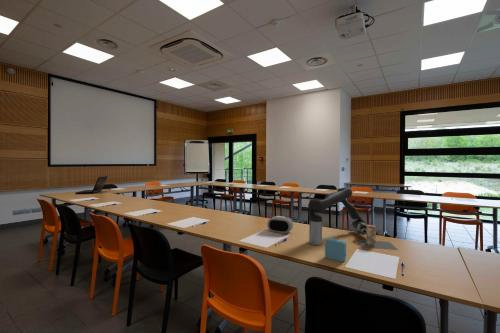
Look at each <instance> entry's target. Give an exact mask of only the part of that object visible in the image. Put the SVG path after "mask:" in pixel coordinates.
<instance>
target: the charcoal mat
mask: <svg viewBox="0 0 500 333" xmlns="http://www.w3.org/2000/svg"><path fill="white" fill-rule="evenodd" d="M356 242H357V243H358V245H359V246H360V248H362V249H363V248H364V249H377V250H378V249H379V250H389V251H392V250H393V251H399V249H398V248H397V247H396V246H395V245H394V244H392V243H391V242H390V241H384V240H383V241H382V240H376V244H375V246H368V245H367V244H366V239H365V240H364V239H356Z"/></svg>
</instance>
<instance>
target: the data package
mask: <svg viewBox="0 0 500 333" xmlns="http://www.w3.org/2000/svg"><path fill="white" fill-rule="evenodd" d="M324 242H325V243H324V244H325V245H324V257H325V258H326V259H329V260H332V261H336V262H340V263H343V262H345V260H346V258H347V242H346V241H345V240H343V239H342V240H341V239H337V238H331V237H329V238H327V239H325V241H324Z"/></svg>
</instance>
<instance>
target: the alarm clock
mask: <svg viewBox="0 0 500 333" xmlns="http://www.w3.org/2000/svg"><path fill="white" fill-rule="evenodd" d="M266 224H267V229H268V231H269V232H272V233H275V234H280V235H282V234H284V235H286V234H288V233H290V232H291V231H292V229H293V227H294V221H293V219H291V218H290V217H286V216H283V215H282V216H281V215H275V216H272V217H271V218H269V219H268V220H267V223H266Z"/></svg>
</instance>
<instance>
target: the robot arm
mask: <svg viewBox="0 0 500 333" xmlns="http://www.w3.org/2000/svg"><path fill="white" fill-rule="evenodd" d="M352 195H353V191H352V189H351V188H350V187H347V186H346V187H345V186H344V187H341V188H338V189H337V190H336V191H333V192H330V193H328V194H326V196H325V197H324V199H318V198H317V199H316V198H312V199H311V198H310V199H309V201H308V218H309V230H308V243H309V245H313V246H321V245H322V244H323V217H322V216H321V215H320V214H319V213H323V212H324V211H325V210H327V209H328V208H330V207H332V206H333V205H337V204H338V203H340V202H341V203H342V204H343V206H344V208H345V209H346V210H347V213H348V214H349V216H350V219H351V220H353V221H352V223H351V225H352V228H354V229H355V230H356V233H357V234H361V235H362V236H366V229H367V225H368V224H366V221H365V220H364V219H363V218H362V217H361V216H360V214H359V212H358V210H357V208H356V207H355V205H353V204H352V203H350V202H349V201H348V199H350V198H351V197H352ZM378 232H379V231H378V230H376V236H378V235H379V233H378Z"/></svg>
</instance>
